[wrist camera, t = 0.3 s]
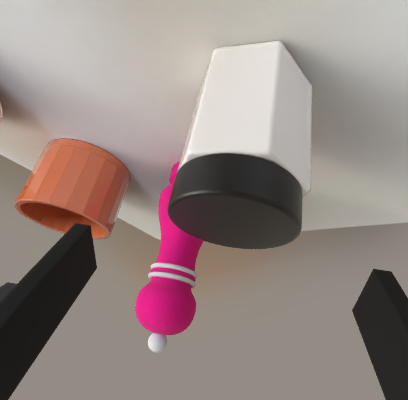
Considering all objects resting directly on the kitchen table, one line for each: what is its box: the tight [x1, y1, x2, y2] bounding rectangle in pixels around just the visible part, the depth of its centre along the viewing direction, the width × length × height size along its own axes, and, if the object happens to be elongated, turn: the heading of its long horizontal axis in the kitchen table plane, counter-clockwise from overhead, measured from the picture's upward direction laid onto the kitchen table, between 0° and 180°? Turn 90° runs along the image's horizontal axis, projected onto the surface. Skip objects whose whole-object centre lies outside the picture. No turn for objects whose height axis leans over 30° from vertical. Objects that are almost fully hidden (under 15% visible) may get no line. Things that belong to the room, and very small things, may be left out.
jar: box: [167, 41, 312, 249], centre depth 20 cm, size 9×8×12 cm
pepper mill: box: [135, 162, 204, 352], centre depth 31 cm, size 7×7×20 cm
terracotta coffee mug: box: [15, 139, 130, 239], centre depth 39 cm, size 15×11×8 cm
